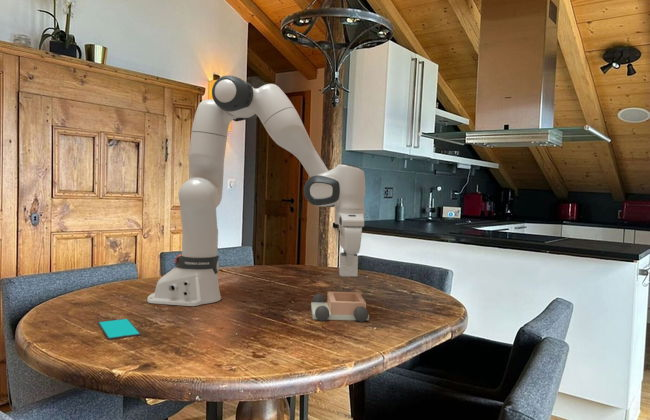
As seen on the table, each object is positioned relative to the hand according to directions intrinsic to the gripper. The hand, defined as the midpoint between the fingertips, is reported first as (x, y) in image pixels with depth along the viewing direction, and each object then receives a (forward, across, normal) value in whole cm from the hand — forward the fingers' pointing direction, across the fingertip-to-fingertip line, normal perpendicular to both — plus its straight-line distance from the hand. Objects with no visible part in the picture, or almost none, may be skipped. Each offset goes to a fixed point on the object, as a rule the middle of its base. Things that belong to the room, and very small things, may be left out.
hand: (348, 264), depth 138 cm
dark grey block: (+3, 0, 0) cm, 3 cm away
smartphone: (+14, +19, -60) cm, 64 cm away
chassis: (+15, 0, -2) cm, 15 cm away
